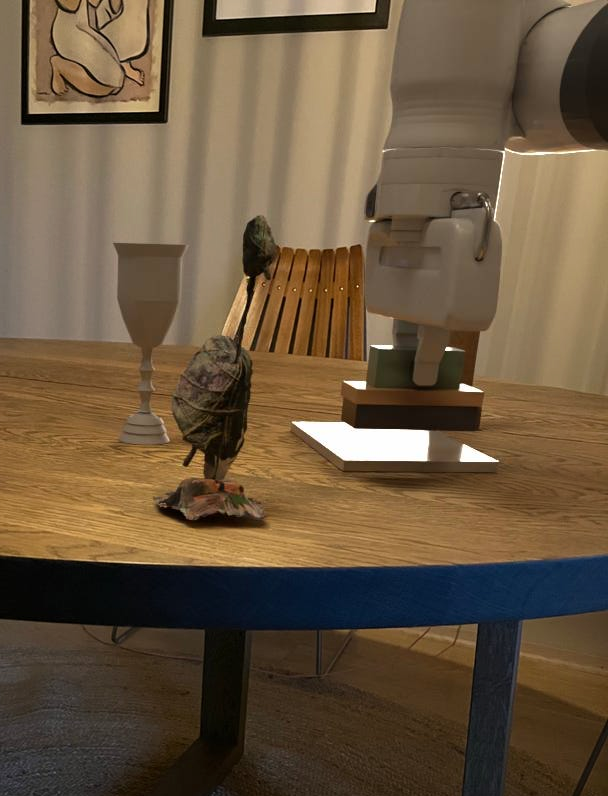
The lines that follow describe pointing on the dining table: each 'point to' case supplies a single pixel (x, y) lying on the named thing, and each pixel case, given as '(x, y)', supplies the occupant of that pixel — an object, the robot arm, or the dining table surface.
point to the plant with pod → (220, 403)
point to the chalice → (148, 320)
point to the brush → (410, 394)
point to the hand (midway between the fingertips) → (413, 381)
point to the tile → (391, 449)
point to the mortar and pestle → (467, 357)
